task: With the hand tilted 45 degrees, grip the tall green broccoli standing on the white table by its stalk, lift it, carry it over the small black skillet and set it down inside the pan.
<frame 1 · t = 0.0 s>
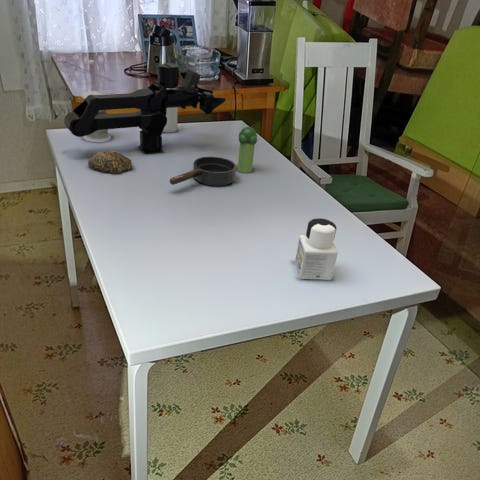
hand: (218, 95, 180), 17 cm above the table, tool horizontal, fingers open, 9 cm apart
broccoli: (244, 169, 173), on the table
container: (312, 271, 126), on the table
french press: (95, 138, 183), on the table
pan: (214, 178, 165), on the table
milk bottle: (166, 130, 197), on the table
bread roll: (112, 167, 165), on the table
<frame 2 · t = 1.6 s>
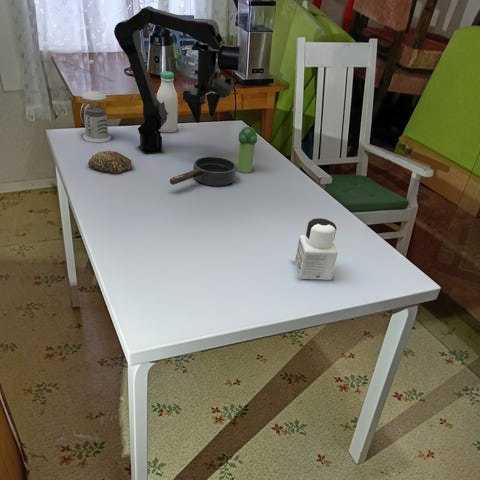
hand: (204, 119, 169), 13 cm above the table, tool pointing down, fingers open, 9 cm apart
nothing on the table moved.
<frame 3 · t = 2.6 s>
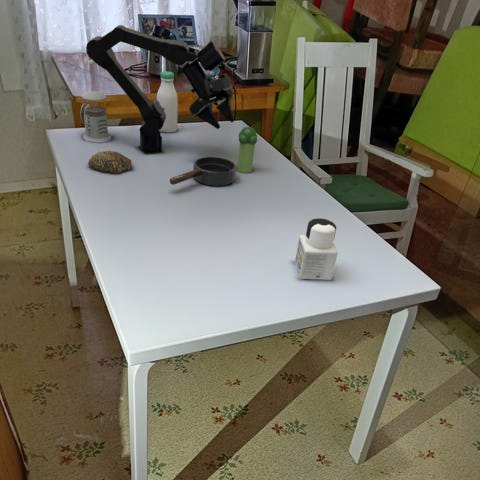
hand: (226, 124, 167), 13 cm above the table, tool tilted 45°, fingers open, 9 cm apart
nothing on the table moved.
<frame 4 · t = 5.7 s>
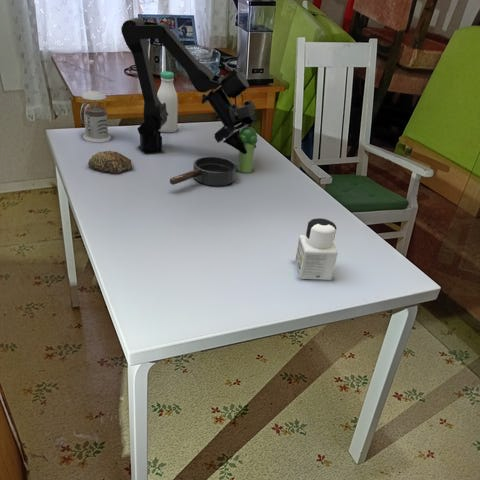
hand: (250, 150, 168), 7 cm above the table, tool tilted 45°, fingers closed on broccoli, 6 cm apart
broccoli: (244, 169, 173), on the table, touching gripper
everything else where it was.
when the fingers open (7 cm above the table, at t = 12.2 s): broccoli stays where it is, resting on pan.
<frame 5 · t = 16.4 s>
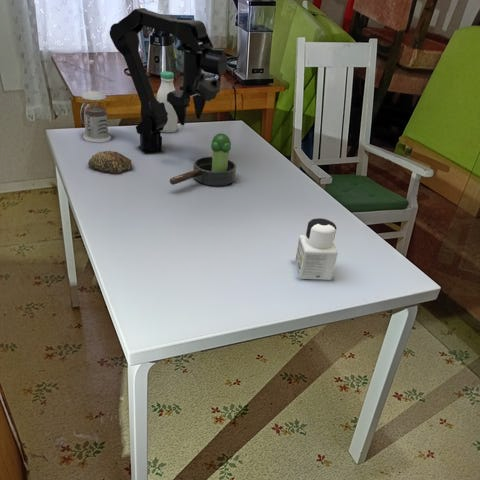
hand: (190, 121, 166), 13 cm above the table, tool pointing down, fingers open, 9 cm apart
broccoli: (218, 178, 164), resting on pan
everything else where it was.
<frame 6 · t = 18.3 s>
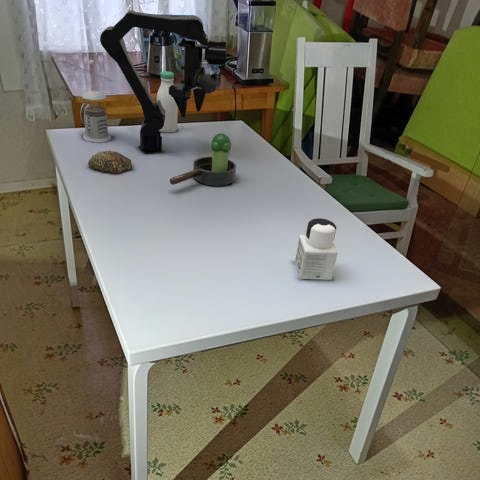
hand: (191, 114, 172), 13 cm above the table, tool pointing down, fingers open, 9 cm apart
nothing on the table moved.
at the end: broccoli inside the target area in the pan (1.8 cm from its centre), point 0.5 cm above the pan's base; the gripper is holding nothing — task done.
